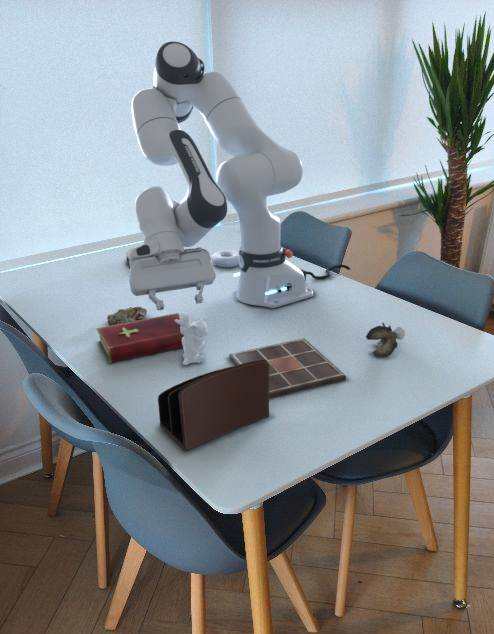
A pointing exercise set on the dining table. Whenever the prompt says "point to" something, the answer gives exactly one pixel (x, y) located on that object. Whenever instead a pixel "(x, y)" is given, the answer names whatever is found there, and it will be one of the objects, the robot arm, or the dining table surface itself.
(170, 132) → the robot arm
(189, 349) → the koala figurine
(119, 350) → the hardcover book
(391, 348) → the eagle figurine
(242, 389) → the letter holder
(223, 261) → the donut
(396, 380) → the dining table surface
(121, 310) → the mineral rock
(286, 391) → the board
